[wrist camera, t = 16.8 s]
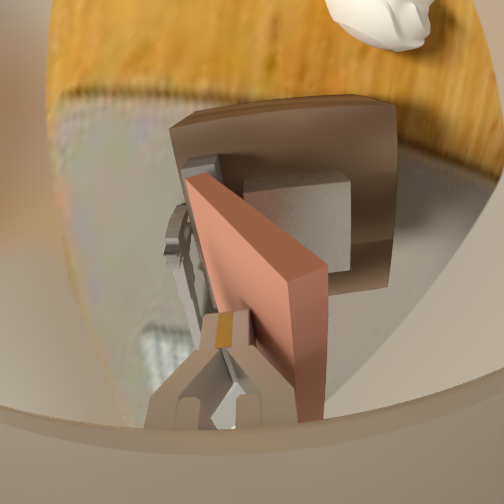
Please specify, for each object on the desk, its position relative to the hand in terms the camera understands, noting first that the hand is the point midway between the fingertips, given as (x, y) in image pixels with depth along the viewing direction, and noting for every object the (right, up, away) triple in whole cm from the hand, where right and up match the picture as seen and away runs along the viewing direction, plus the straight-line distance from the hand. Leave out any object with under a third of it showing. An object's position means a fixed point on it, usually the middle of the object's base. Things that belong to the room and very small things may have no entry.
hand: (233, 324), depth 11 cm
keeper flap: (+1, +1, +2) cm, 2 cm away
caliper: (-5, -2, +21) cm, 22 cm away
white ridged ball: (+9, +21, +7) cm, 24 cm away
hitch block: (+3, +9, +14) cm, 17 cm away
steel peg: (+3, +8, +13) cm, 16 cm away
